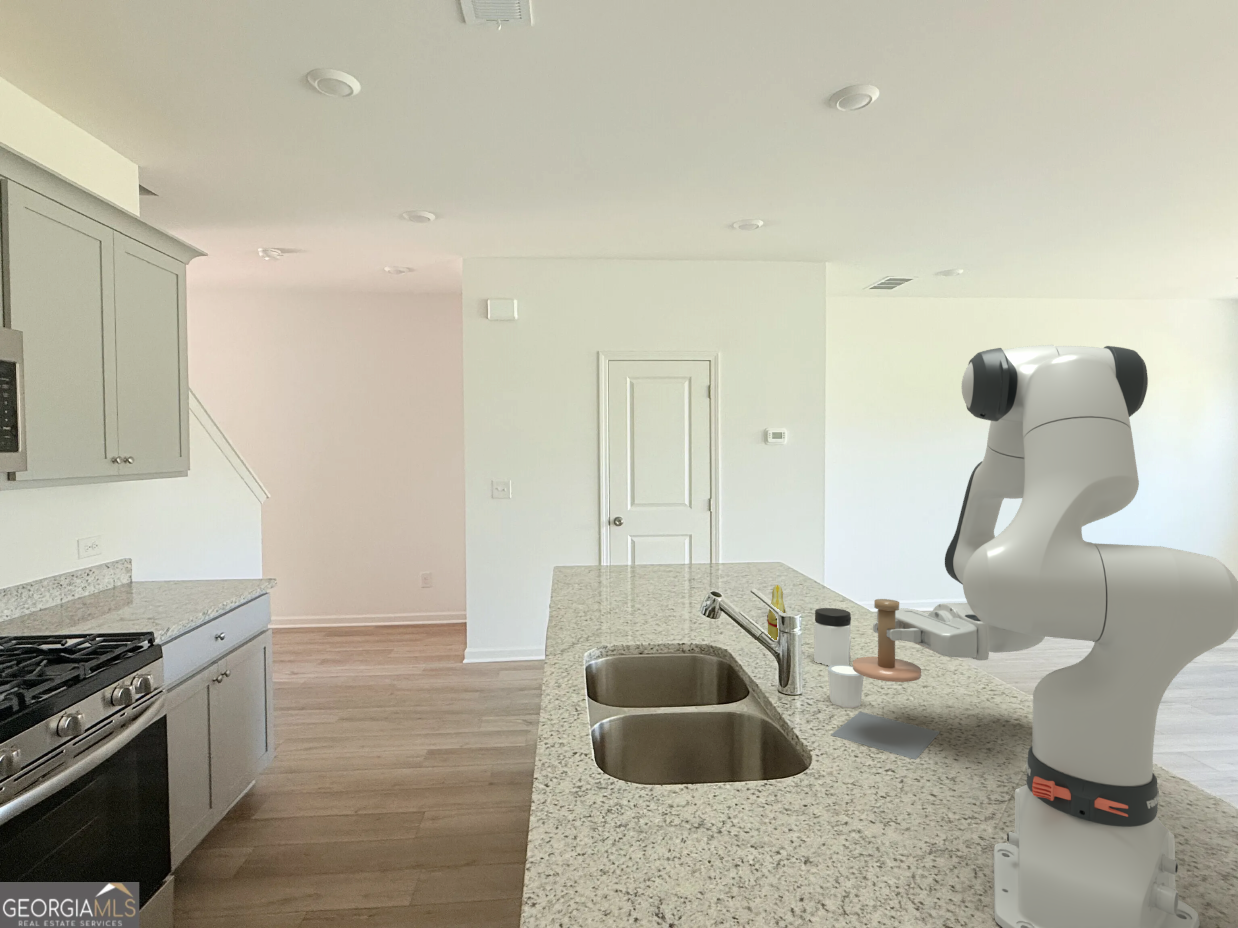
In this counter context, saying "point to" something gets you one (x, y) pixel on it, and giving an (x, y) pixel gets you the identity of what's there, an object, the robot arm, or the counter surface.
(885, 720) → the mat
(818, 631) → the jar
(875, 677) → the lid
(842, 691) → the shot glass
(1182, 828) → the counter surface
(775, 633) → the chocolate bunny
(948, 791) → the counter surface
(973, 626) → the robot arm
